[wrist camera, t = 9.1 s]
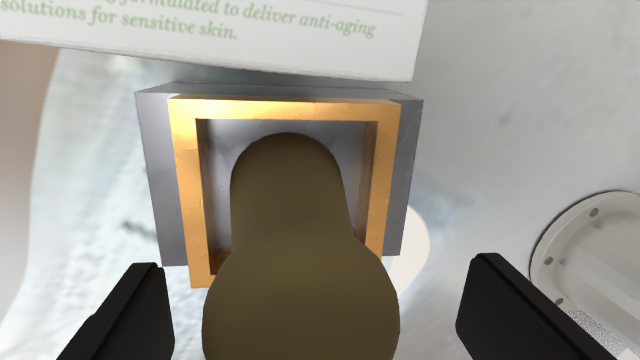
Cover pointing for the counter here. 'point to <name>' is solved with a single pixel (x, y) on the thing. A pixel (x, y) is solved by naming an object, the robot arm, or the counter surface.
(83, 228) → the counter surface
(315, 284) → the olive rounded tall piece
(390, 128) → the grey open box
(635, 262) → the robot arm
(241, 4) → the skincare box
